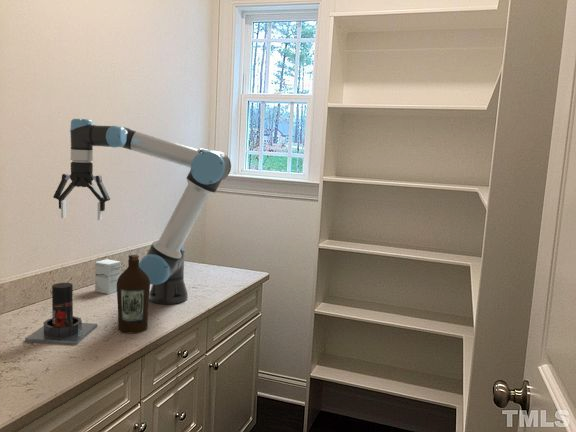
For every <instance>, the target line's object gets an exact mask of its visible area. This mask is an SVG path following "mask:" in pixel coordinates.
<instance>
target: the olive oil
mask: <svg viewBox="0 0 576 432" xmlns="http://www.w3.org/2000/svg"><path fill="white" fill-rule="evenodd" d="M139 258H140V256H139V255H138V254H130V255H128V263H127V264H128V266H127V268H126V269H125V270H124V271H123V272H122V273H120V276H119V278H118V281H117V292H116V298H117V299H116V300H117V325H118V328H117V329H118V331H119V332H121V333H126V334H137V333H142V332H145V331H146V330H147V329H148V326H149V324H148V323H149V307H150V306H149V304H150V300H149V293H150V290H151V284H150V281H149V278H148V276H147V275H146V273H145V272H144V271H143V270H142V269H141V268H140V267H139V263H140V259H139Z"/></svg>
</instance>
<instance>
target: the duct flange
mask: <svg viewBox="0 0 576 432" xmlns="http://www.w3.org/2000/svg"><path fill="white" fill-rule="evenodd" d="M97 328H98V323H91V322H82V319H81V318H80V317H77V316H74V315H73V325H70V326H63V327H53V318H48V319H46V320H45V321H44V322H43V325H42V326H41V327H40V328H38V329H37V330H35V331H33V332H32V333H31V334H30V335H28V336H26V337H25V338H24V342H25V343H38V344H39V343H41V344H42V343H43V344H54V345H55V344H58V345H72V346H73V345H76V346H77V345H78V344H79V343H80V342H82V341H83V340H84V339H86V337H88V335H89V334H91V333H92V332H93V331H94V330H95V329H97Z"/></svg>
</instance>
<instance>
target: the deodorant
mask: <svg viewBox="0 0 576 432" xmlns="http://www.w3.org/2000/svg"><path fill="white" fill-rule="evenodd" d="M73 289H74V288H73V283H71V282H58V283H54V284H52V285H51V292H52V293H51V294H52V296H51V297H52V299H51V302H52V303H51V304H52V305H51V307H52V310H51V311H52V312H51V313H52V314H51V315H52V318H53V327H63V326H70V325H73V316H74V313H73V312H74V311H73V310H74V309H73V307H74V305H73V303H74V301H73V300H74V299H73V291H74V290H73Z"/></svg>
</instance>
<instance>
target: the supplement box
mask: <svg viewBox="0 0 576 432" xmlns="http://www.w3.org/2000/svg"><path fill="white" fill-rule="evenodd" d="M121 265H122V263H121V261H118V260H112V259H107V258H106V259H103V260H98V261H95V263H94V266H95V267H94V270H95V271H94V292H95V293H100V294H101V293H102V294H107V295H111V294H113V293H114V294H115V293H117V281H118V278H119V276H120V275H121Z"/></svg>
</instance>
